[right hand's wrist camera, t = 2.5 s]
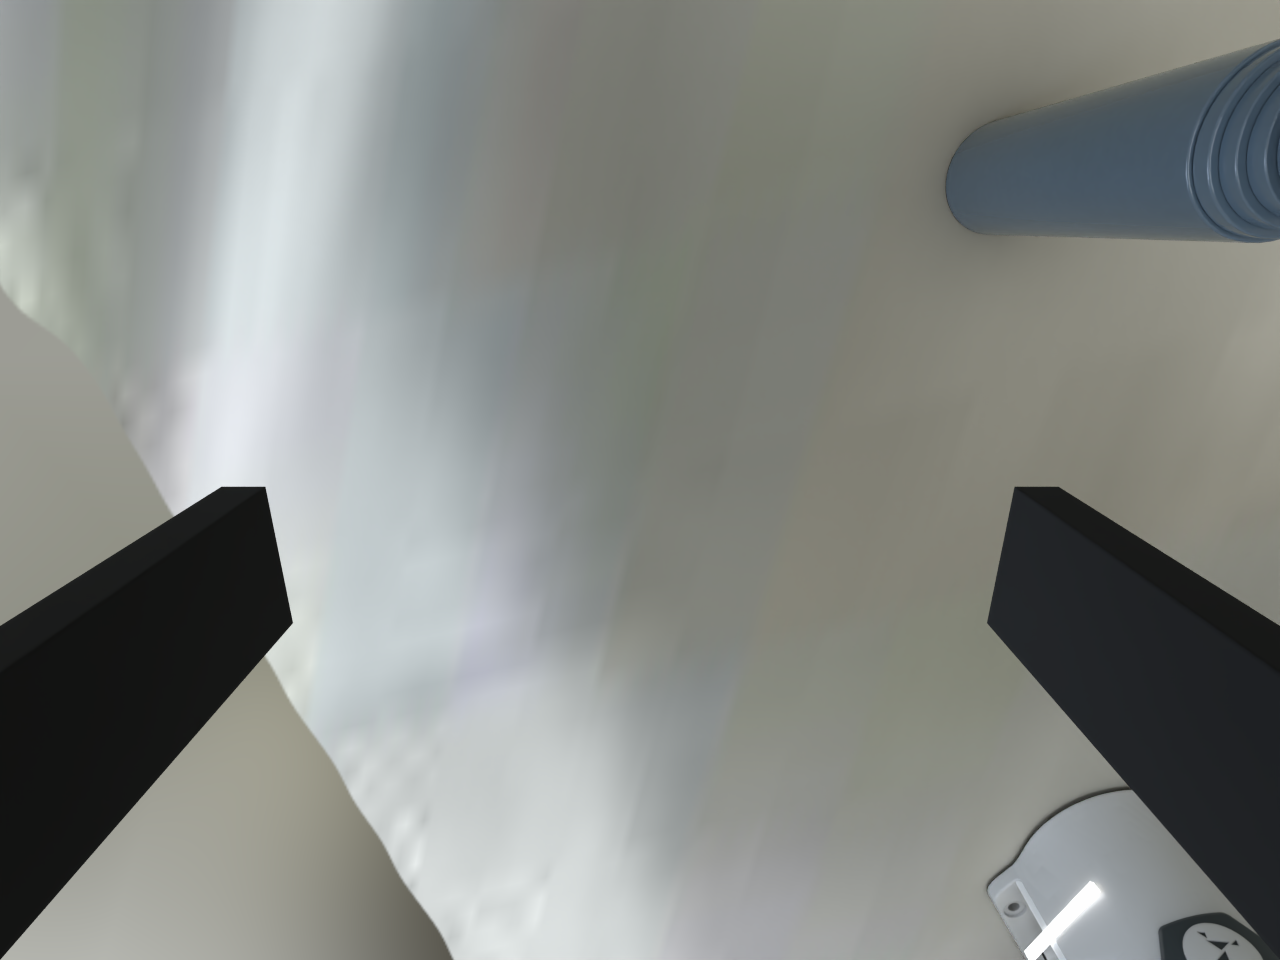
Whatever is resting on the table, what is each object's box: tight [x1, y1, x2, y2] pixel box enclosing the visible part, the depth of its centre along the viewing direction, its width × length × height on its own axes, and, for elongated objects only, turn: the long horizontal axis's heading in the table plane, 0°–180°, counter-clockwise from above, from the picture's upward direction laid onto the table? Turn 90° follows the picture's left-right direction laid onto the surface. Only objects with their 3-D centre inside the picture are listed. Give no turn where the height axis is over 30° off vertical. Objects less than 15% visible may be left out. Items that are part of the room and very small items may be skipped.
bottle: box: [946, 39, 1280, 243], centre depth 26 cm, size 6×6×22 cm
